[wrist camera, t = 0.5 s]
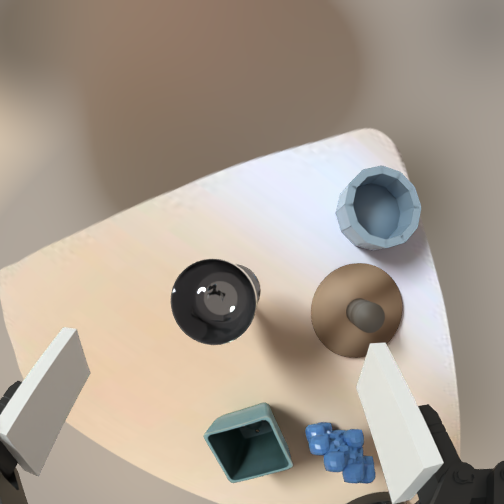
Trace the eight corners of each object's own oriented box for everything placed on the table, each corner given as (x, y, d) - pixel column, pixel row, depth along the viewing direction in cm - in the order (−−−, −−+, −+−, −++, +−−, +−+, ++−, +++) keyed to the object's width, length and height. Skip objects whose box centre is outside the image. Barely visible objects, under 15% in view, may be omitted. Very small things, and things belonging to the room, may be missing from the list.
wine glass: (215, 253, 44) (185, 247, 29) (271, 272, 44) (268, 275, 29) (198, 307, 44) (160, 327, 29) (252, 327, 43) (239, 357, 28)
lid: (415, 307, 42) (437, 314, 35) (353, 372, 42) (365, 390, 35) (357, 243, 43) (371, 239, 36) (291, 311, 43) (293, 319, 36)
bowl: (415, 214, 42) (433, 207, 36) (372, 264, 42) (386, 263, 36) (368, 165, 43) (380, 151, 37) (322, 212, 43) (329, 204, 37)
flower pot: (292, 435, 42) (294, 468, 33) (238, 451, 43) (230, 484, 34) (271, 388, 43) (269, 415, 34) (215, 406, 43) (201, 434, 34)
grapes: (380, 427, 41) (405, 467, 29) (352, 457, 41) (368, 502, 29) (322, 394, 42) (336, 433, 30) (294, 427, 42) (298, 472, 30)
